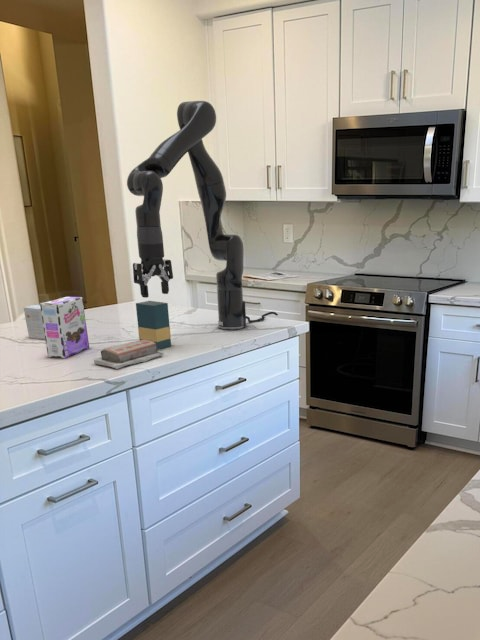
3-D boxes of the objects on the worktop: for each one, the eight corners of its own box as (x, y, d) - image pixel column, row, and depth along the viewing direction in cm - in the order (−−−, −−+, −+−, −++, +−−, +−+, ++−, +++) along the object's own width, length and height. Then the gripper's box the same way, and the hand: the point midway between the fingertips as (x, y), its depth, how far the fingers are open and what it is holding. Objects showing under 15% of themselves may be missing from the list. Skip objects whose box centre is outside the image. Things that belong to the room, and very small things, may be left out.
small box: (58, 336, 209) (53, 306, 205) (45, 340, 205) (40, 308, 201) (41, 334, 212) (36, 304, 208) (28, 337, 208) (23, 306, 204)
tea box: (135, 303, 192) (153, 305, 189) (149, 300, 197) (167, 303, 194) (139, 346, 198) (157, 349, 194) (153, 342, 203) (171, 346, 199)
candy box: (64, 358, 182) (56, 303, 176) (47, 357, 183) (38, 302, 177) (90, 348, 195) (83, 296, 189) (73, 347, 196) (66, 295, 190)
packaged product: (139, 336, 189) (162, 341, 184) (140, 352, 191) (163, 356, 186) (91, 348, 175) (114, 353, 170) (93, 364, 177) (116, 369, 172)
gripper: (141, 244, 177) (147, 299, 184) (176, 240, 189) (180, 293, 195) (123, 242, 181) (129, 297, 187) (158, 239, 192) (163, 291, 198)
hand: (155, 295), depth 191 cm, fingers open, 8 cm apart
